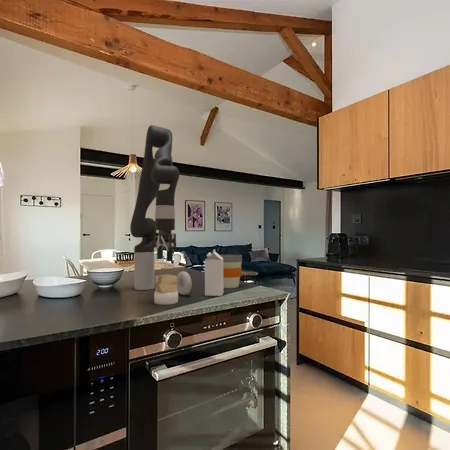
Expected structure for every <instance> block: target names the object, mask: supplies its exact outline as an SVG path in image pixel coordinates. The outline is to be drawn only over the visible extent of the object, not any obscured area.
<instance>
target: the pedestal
mask: <svg viewBox="0 0 450 450" xmlns="http://www.w3.org/2000/svg"><path fill="white" fill-rule="evenodd" d="M153 293H154V294H153V295H154V297H153V299H154V301H153V303H154V304H155V305H174V304H175V305H176V304H177V303H179V292H178V291H177V292H171V293H164V294H162V293H159V292H156V290H155V291H154V292H153Z"/></svg>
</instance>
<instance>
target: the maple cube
mask: <svg viewBox="0 0 450 450" xmlns="http://www.w3.org/2000/svg"><path fill="white" fill-rule="evenodd" d="M155 291H156V292H159V293H162V294H164V293H171V292H177V275H174V274H161V275H155Z"/></svg>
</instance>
